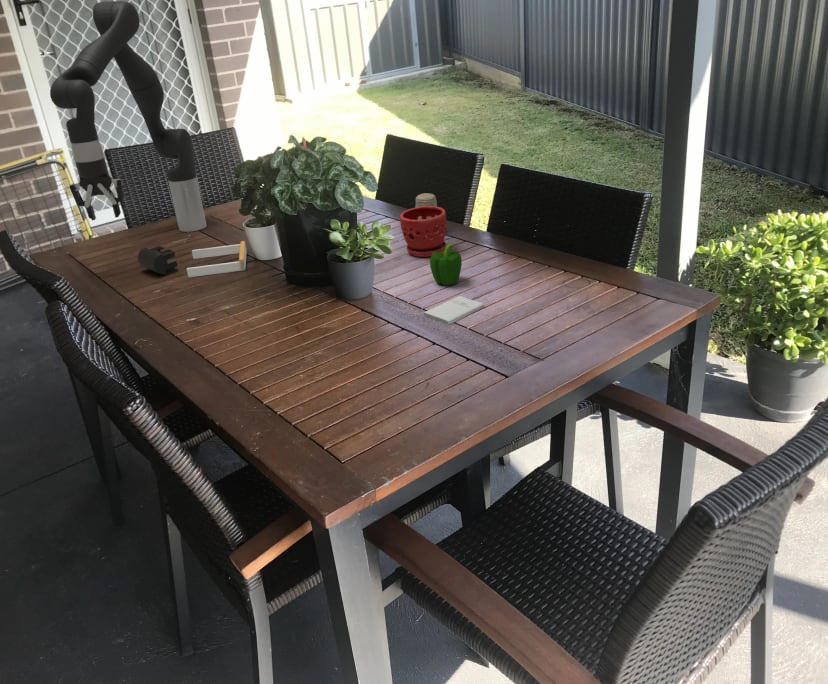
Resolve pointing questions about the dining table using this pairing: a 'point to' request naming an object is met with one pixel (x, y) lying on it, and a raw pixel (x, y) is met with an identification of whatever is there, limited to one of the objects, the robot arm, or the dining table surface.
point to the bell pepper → (446, 266)
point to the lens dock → (219, 267)
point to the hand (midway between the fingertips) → (105, 217)
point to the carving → (425, 202)
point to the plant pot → (424, 230)
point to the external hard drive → (453, 310)
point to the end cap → (157, 260)
